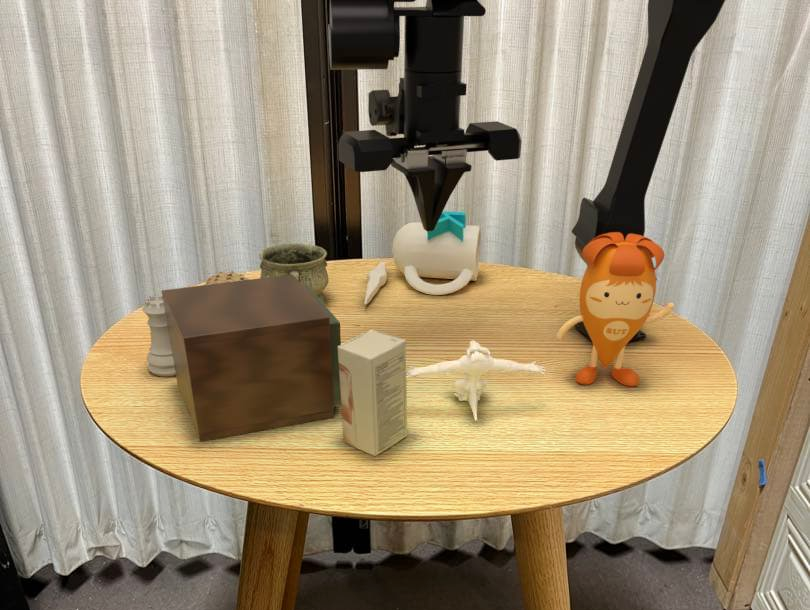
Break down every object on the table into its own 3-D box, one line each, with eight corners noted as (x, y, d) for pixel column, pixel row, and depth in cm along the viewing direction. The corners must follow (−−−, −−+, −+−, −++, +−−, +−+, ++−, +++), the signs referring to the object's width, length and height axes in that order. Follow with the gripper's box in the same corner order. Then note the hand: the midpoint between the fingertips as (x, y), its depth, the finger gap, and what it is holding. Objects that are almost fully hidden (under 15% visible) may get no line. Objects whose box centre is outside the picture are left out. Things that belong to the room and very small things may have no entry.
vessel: (332, 316, 105) (330, 267, 101) (262, 319, 104) (257, 270, 100) (326, 283, 114) (324, 237, 111) (262, 286, 113) (257, 239, 110)
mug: (394, 197, 113) (481, 202, 111) (398, 251, 121) (480, 256, 119) (379, 257, 107) (471, 263, 105) (385, 309, 115) (470, 315, 113)
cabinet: (299, 367, 93) (292, 274, 87) (334, 417, 84) (329, 317, 77) (177, 386, 89) (161, 290, 82) (200, 441, 80) (183, 337, 73)
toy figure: (553, 388, 89) (571, 248, 80) (548, 357, 96) (565, 224, 87) (664, 393, 89) (694, 252, 80) (652, 361, 95) (679, 228, 86)
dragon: (534, 374, 89) (549, 324, 82) (544, 429, 86) (561, 383, 79) (396, 379, 88) (399, 329, 81) (401, 436, 85) (405, 389, 78)
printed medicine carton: (374, 422, 83) (373, 327, 77) (408, 437, 81) (409, 339, 75) (339, 442, 80) (334, 344, 74) (373, 458, 77) (371, 358, 71)
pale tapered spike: (374, 271, 119) (374, 258, 117) (392, 272, 118) (392, 259, 117) (354, 310, 107) (354, 296, 106) (374, 311, 106) (374, 297, 105)
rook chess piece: (153, 381, 90) (140, 310, 85) (144, 365, 93) (130, 295, 88) (194, 373, 92) (183, 303, 87) (183, 357, 95) (172, 289, 90)
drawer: (321, 358, 93) (316, 281, 87) (354, 403, 84) (352, 320, 79) (199, 377, 89) (186, 298, 83) (221, 426, 80) (209, 341, 75)
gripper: (481, 55, 91) (472, 203, 100) (318, 62, 85) (325, 218, 94) (530, 69, 83) (516, 229, 92) (354, 78, 77) (358, 247, 86)
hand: (428, 230), depth 91 cm, fingers closed
